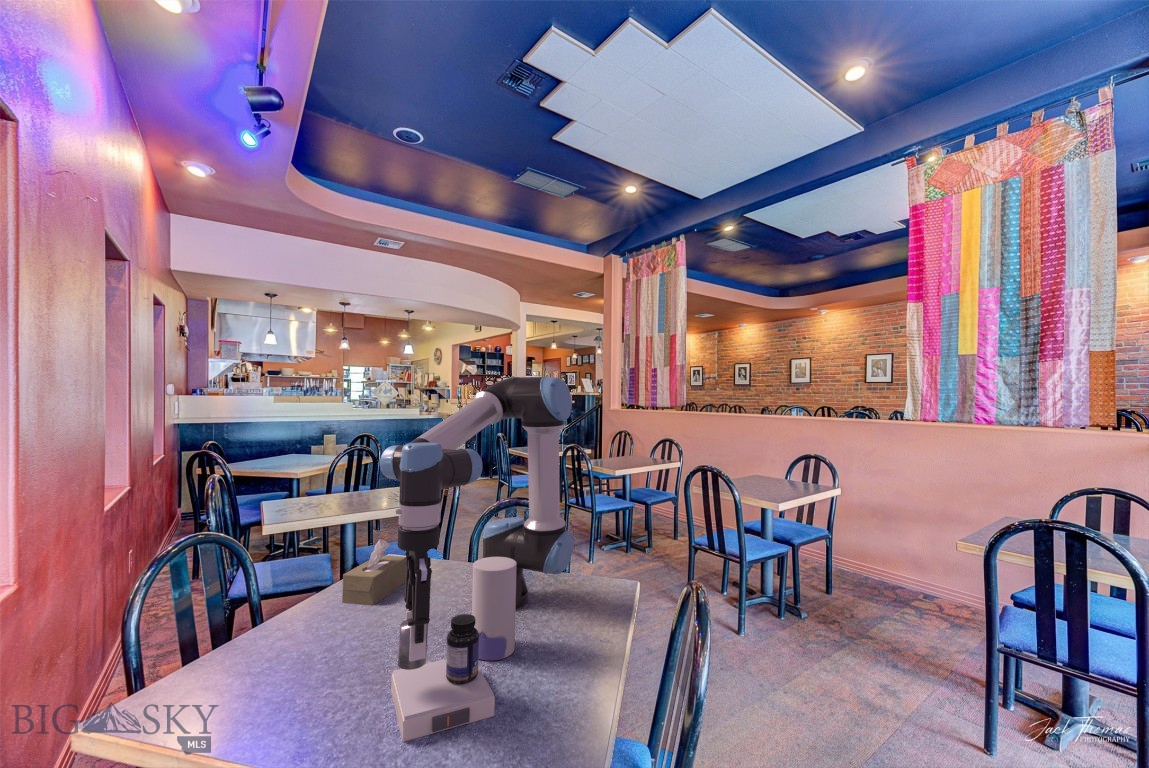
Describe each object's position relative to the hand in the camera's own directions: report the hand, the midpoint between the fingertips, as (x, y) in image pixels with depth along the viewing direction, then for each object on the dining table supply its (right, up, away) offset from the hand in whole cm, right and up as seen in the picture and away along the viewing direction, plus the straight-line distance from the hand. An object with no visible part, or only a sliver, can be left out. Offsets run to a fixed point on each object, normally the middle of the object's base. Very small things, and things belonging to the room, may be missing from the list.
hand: (414, 651), depth 91 cm
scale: (+4, -11, +2) cm, 12 cm away
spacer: (0, -2, 0) cm, 2 cm away
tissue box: (-30, -13, +55) cm, 64 cm away
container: (+11, -12, +22) cm, 27 cm away
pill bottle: (+8, -7, +4) cm, 11 cm away
